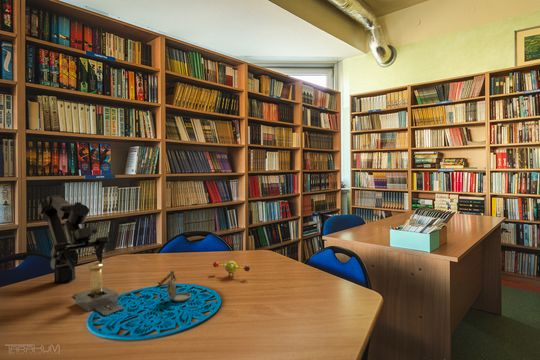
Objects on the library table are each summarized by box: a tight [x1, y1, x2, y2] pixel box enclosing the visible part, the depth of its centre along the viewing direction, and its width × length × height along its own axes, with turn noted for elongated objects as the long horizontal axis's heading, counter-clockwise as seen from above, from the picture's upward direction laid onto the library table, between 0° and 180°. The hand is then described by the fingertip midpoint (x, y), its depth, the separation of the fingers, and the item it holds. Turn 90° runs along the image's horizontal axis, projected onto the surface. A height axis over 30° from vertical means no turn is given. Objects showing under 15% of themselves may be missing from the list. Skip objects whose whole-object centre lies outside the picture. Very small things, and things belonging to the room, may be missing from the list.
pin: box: [88, 262, 104, 298], centre depth 110 cm, size 4×4×14 cm
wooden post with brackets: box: [157, 270, 177, 287], centre depth 129 cm, size 2×8×4 cm, turn 144°
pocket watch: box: [166, 272, 192, 302], centre depth 112 cm, size 8×8×10 cm
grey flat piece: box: [72, 286, 125, 317], centre depth 110 cm, size 26×10×3 cm, turn 52°
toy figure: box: [212, 260, 251, 278], centre depth 136 cm, size 18×6×7 cm, turn 68°
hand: (87, 265), depth 115 cm, fingers open, 9 cm apart
